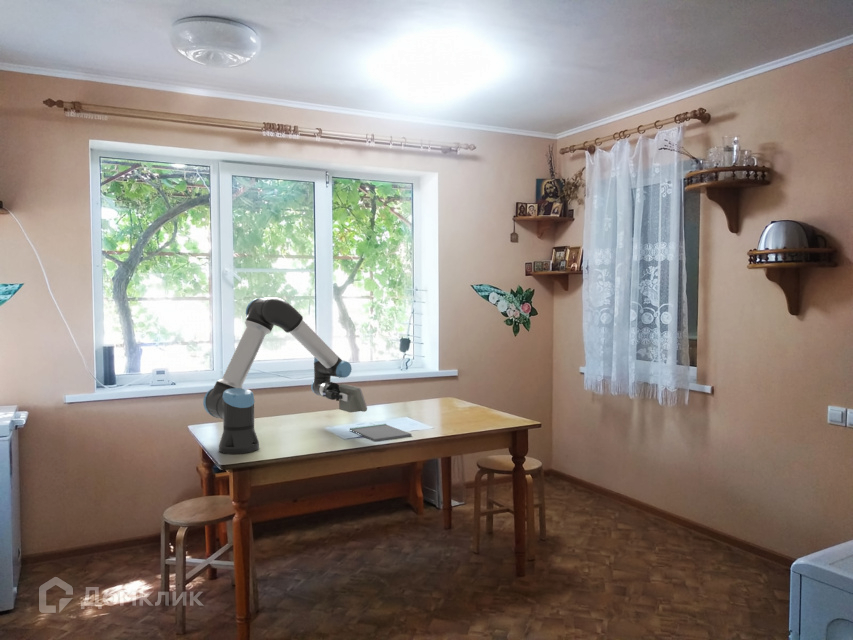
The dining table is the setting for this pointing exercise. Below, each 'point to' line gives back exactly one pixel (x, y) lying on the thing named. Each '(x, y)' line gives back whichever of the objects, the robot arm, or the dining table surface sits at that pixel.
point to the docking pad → (380, 432)
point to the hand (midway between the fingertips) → (353, 397)
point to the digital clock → (352, 399)
